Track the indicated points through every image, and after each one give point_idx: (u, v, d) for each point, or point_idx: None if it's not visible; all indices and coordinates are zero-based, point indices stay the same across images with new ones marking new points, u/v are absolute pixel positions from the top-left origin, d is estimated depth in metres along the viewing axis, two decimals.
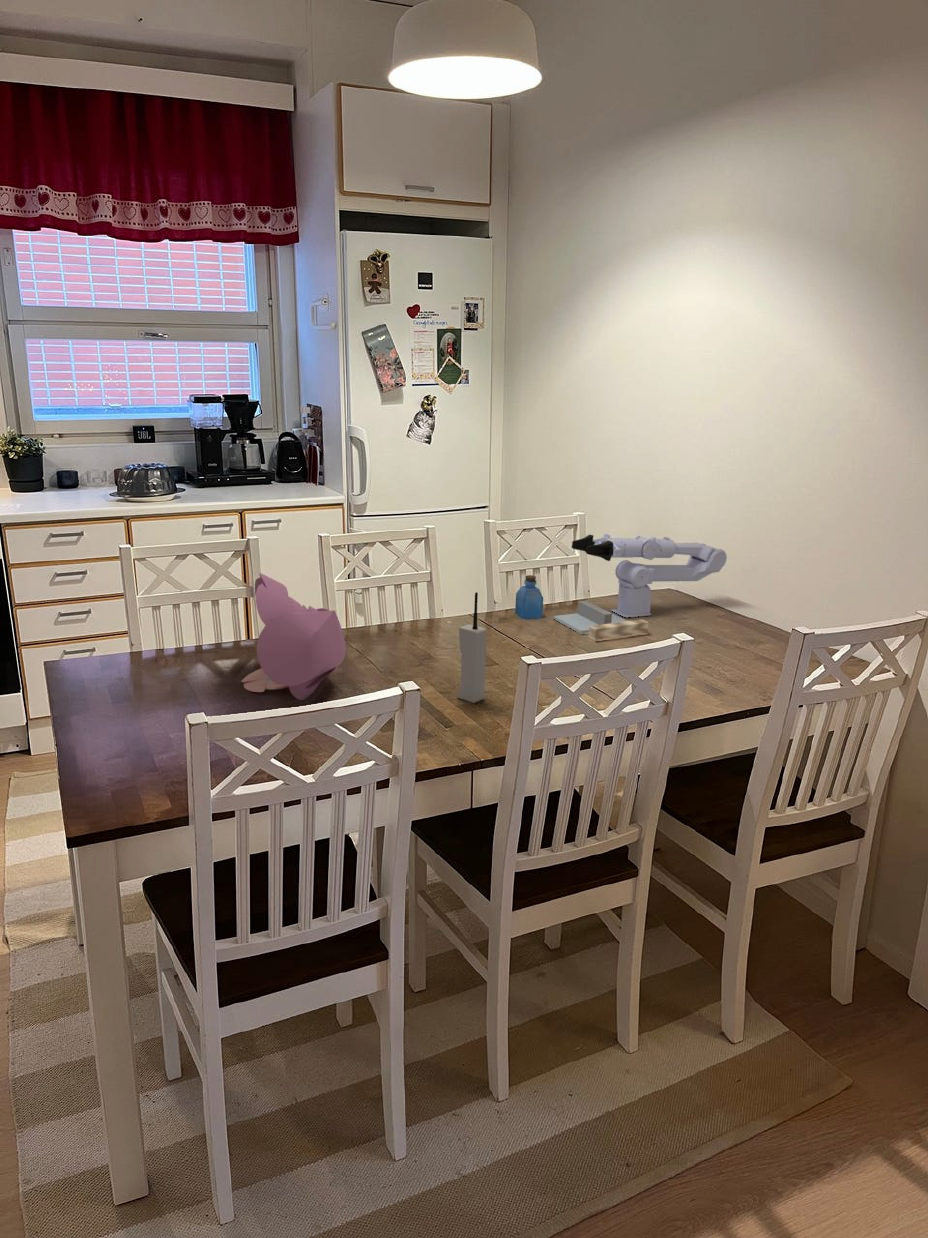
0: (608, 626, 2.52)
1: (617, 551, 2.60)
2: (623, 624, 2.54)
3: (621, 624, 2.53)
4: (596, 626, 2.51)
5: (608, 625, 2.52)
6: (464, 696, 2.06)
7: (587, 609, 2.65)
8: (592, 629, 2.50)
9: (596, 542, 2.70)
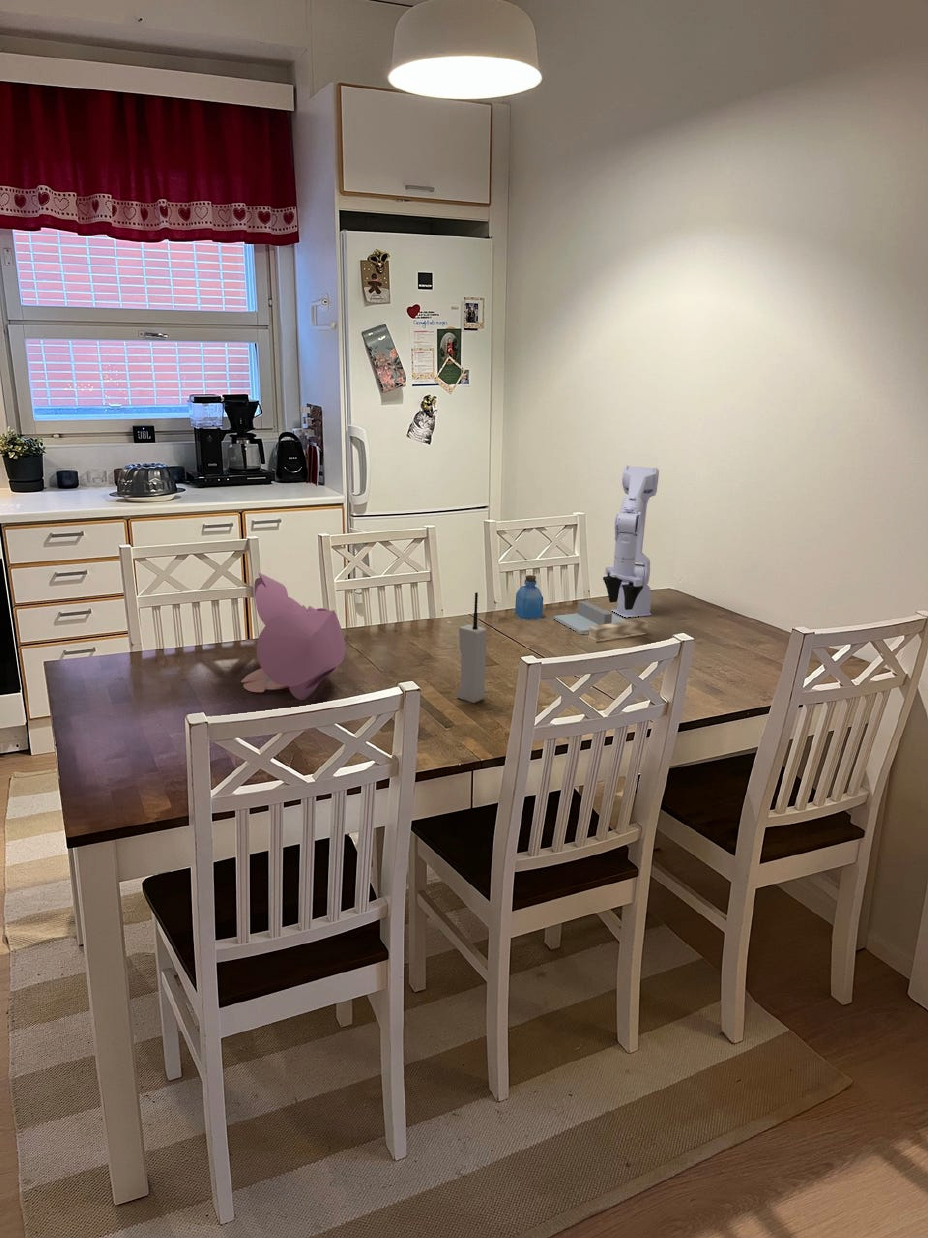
0: (609, 626, 2.52)
1: (637, 584, 2.43)
2: (623, 624, 2.54)
3: (621, 624, 2.53)
4: (596, 626, 2.51)
5: (608, 625, 2.52)
6: (464, 696, 2.06)
7: (587, 609, 2.65)
8: (593, 629, 2.49)
9: None
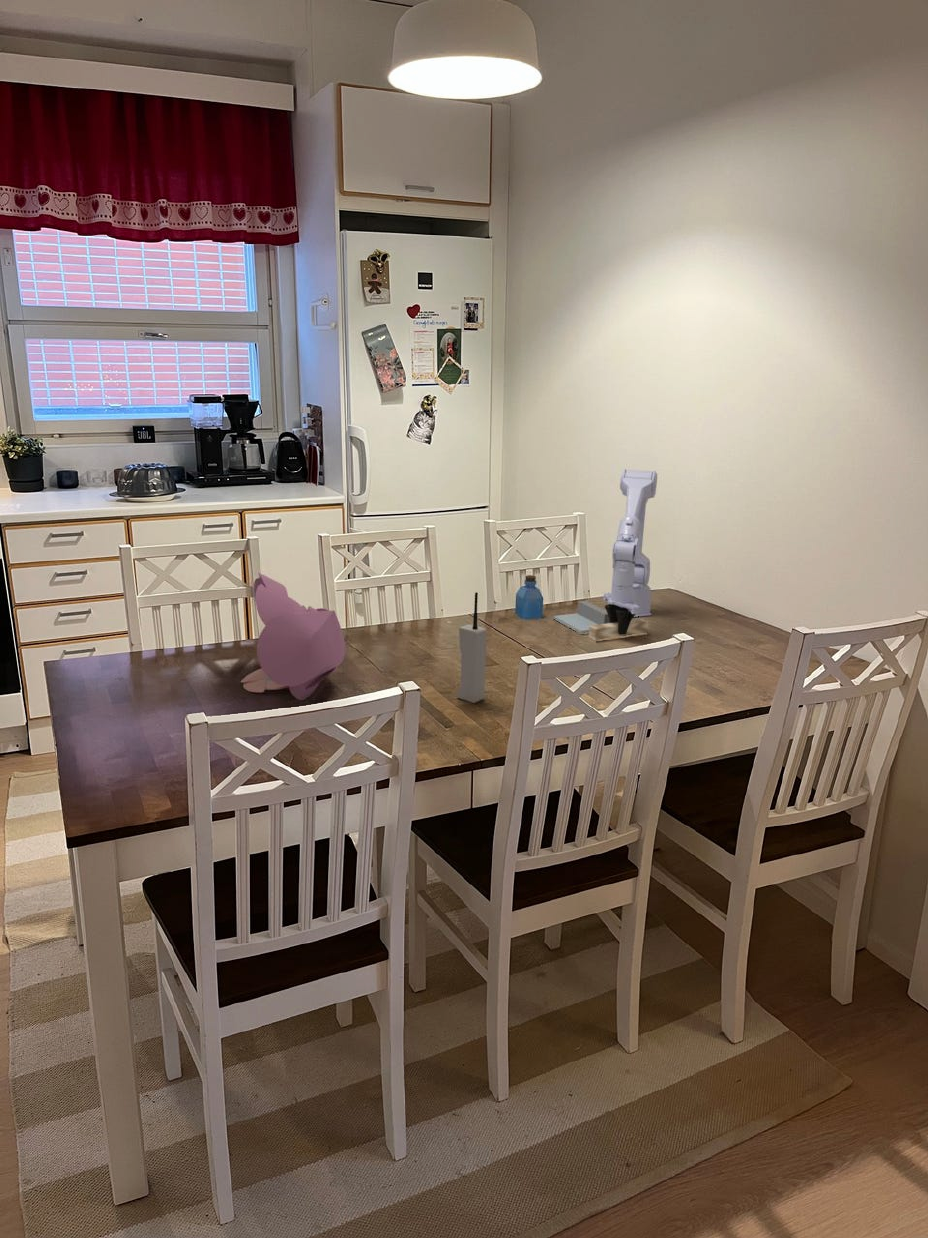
0: (608, 625, 2.52)
1: (635, 611, 2.46)
2: None
3: None
4: (596, 626, 2.51)
5: (608, 625, 2.52)
6: (464, 696, 2.06)
7: (587, 609, 2.65)
8: (592, 629, 2.49)
9: None
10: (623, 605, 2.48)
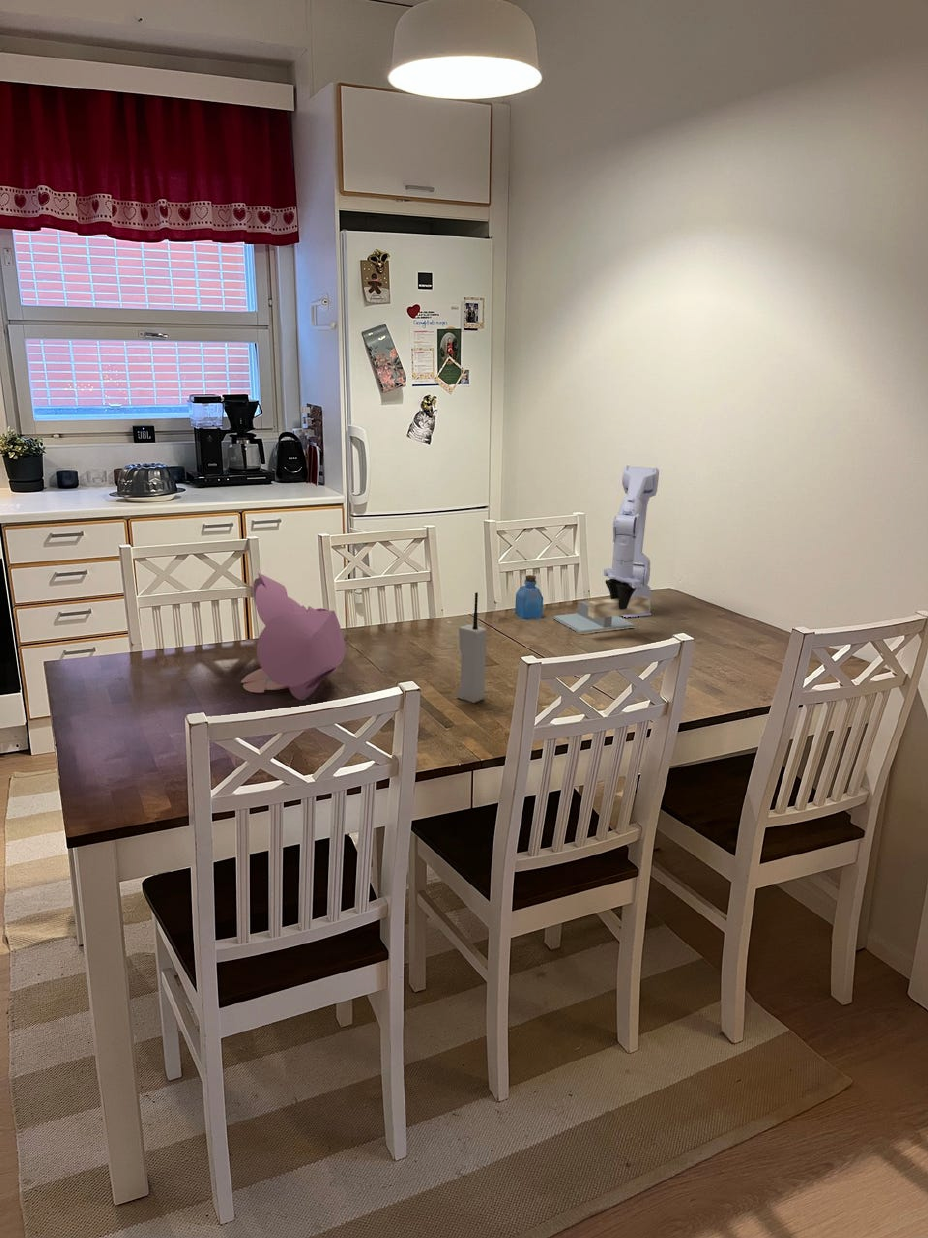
0: (608, 601, 2.50)
1: (635, 585, 2.44)
2: None
3: None
4: (596, 601, 2.50)
5: (608, 600, 2.51)
6: (464, 696, 2.06)
7: (587, 609, 2.65)
8: (592, 604, 2.48)
9: None
10: (624, 579, 2.46)
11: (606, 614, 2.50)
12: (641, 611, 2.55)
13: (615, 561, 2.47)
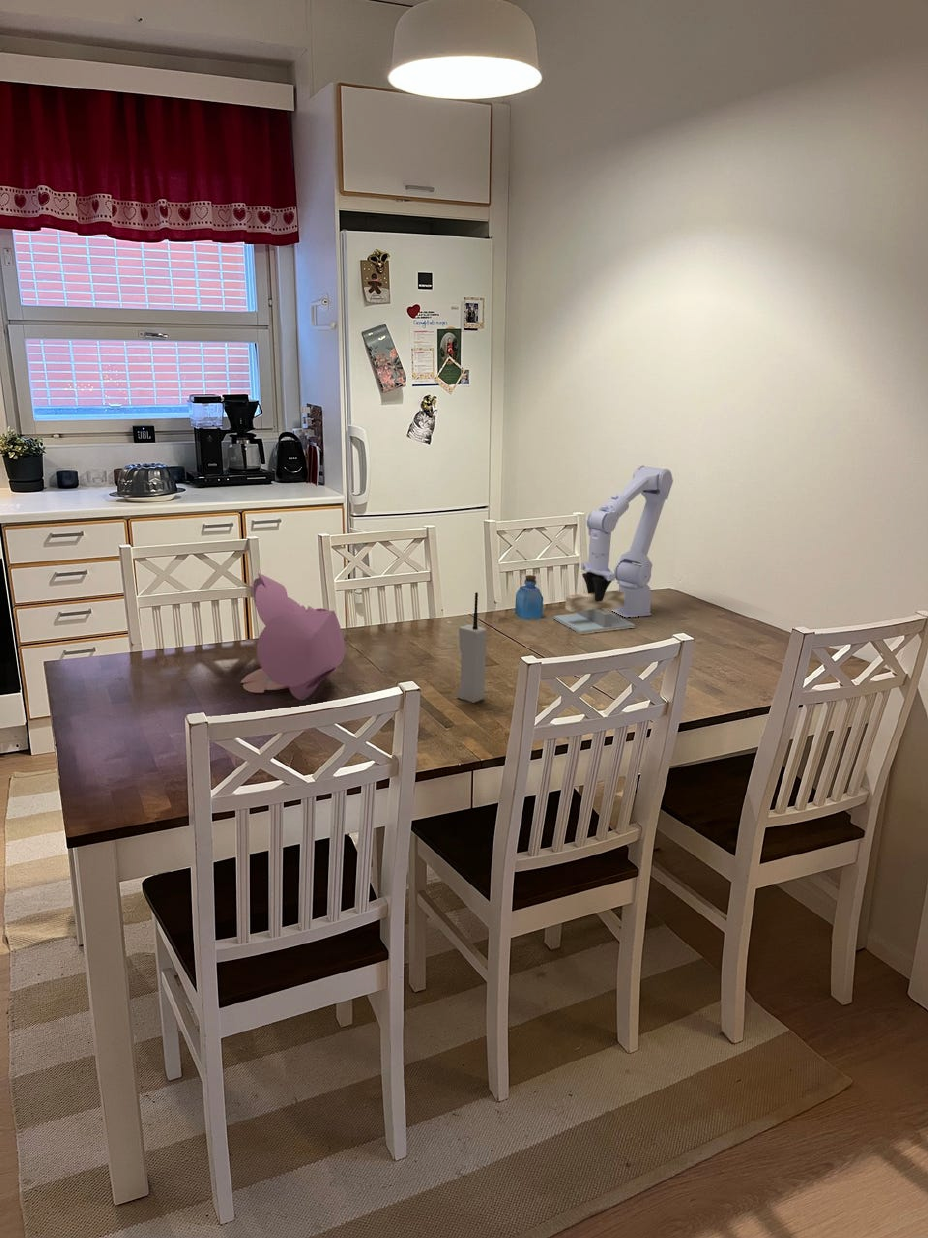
0: (585, 595, 2.61)
1: (610, 578, 2.55)
2: None
3: None
4: (572, 595, 2.60)
5: (585, 595, 2.62)
6: (464, 696, 2.06)
7: None
8: (569, 598, 2.59)
9: None
10: (599, 572, 2.57)
11: (583, 608, 2.60)
12: (617, 605, 2.65)
13: (591, 555, 2.58)
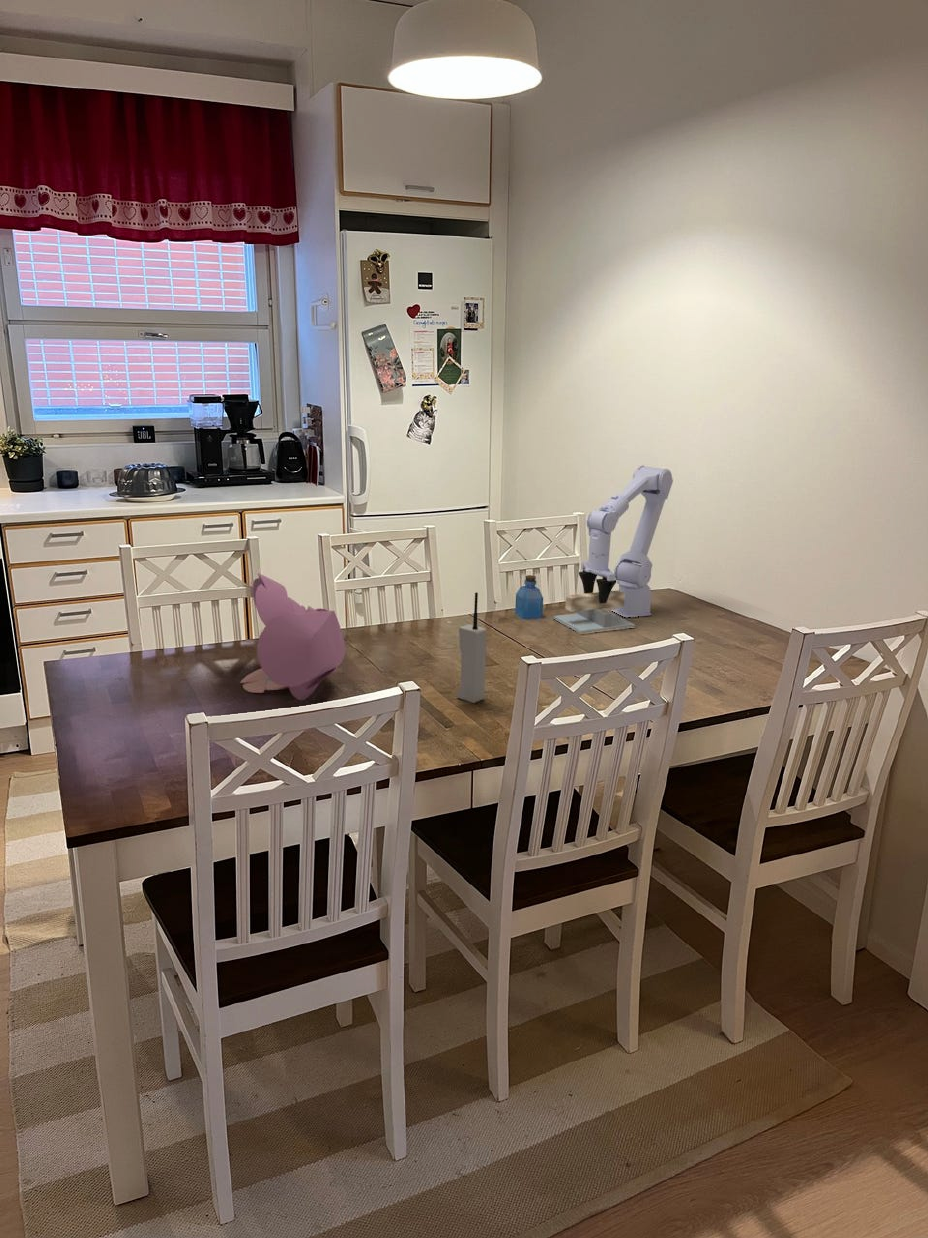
0: (585, 595, 2.61)
1: (610, 578, 2.55)
2: None
3: (598, 594, 2.63)
4: (572, 595, 2.60)
5: (585, 595, 2.62)
6: (464, 696, 2.06)
7: None
8: (569, 598, 2.59)
9: None
10: (599, 572, 2.57)
11: (583, 608, 2.60)
12: (617, 605, 2.65)
13: (591, 555, 2.58)
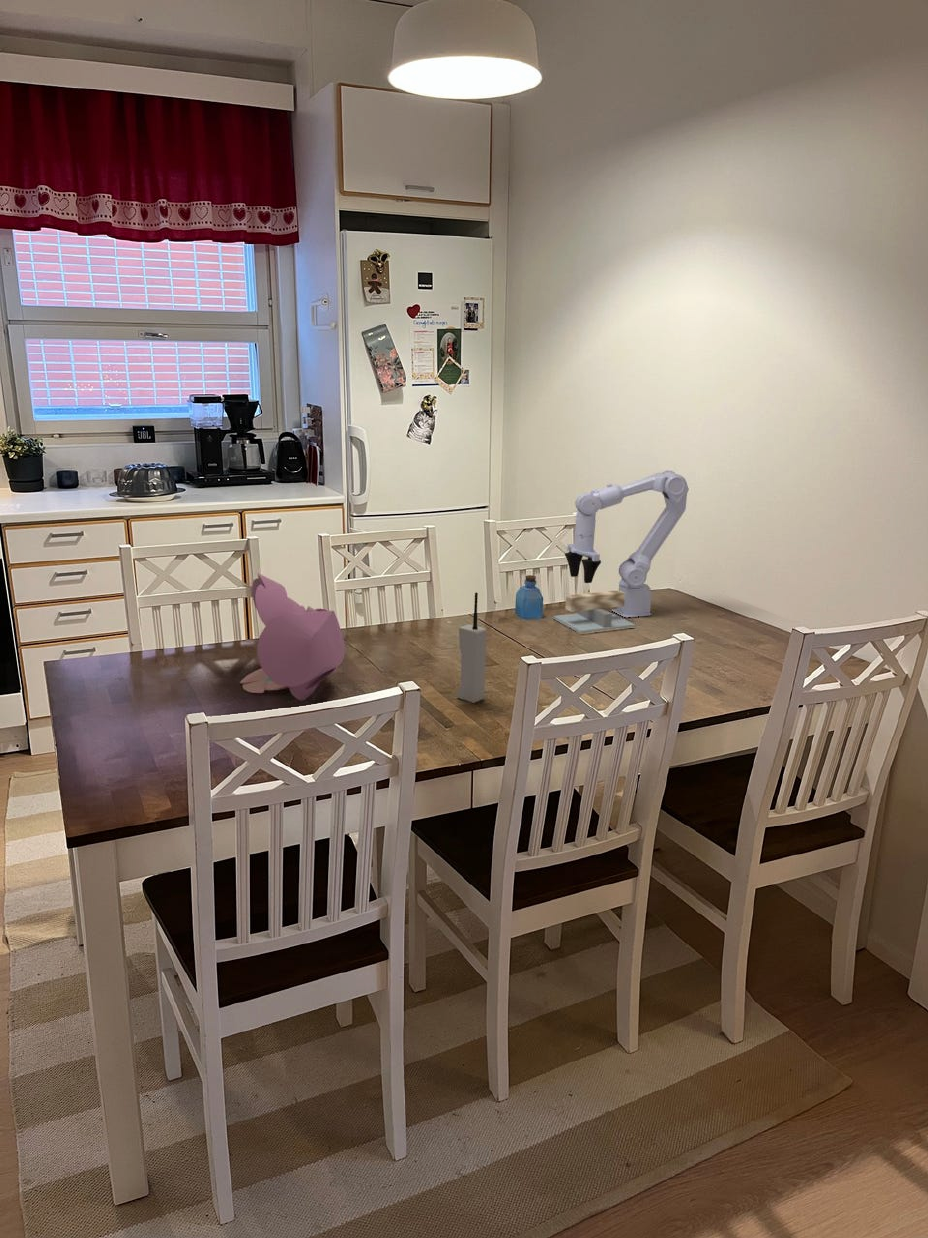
0: (585, 595, 2.61)
1: (595, 558, 2.64)
2: (600, 594, 2.63)
3: (598, 594, 2.63)
4: (572, 595, 2.60)
5: (585, 595, 2.62)
6: (464, 696, 2.06)
7: None
8: (569, 598, 2.59)
9: None
10: (585, 553, 2.66)
11: (583, 608, 2.60)
12: (617, 605, 2.65)
13: (577, 536, 2.67)
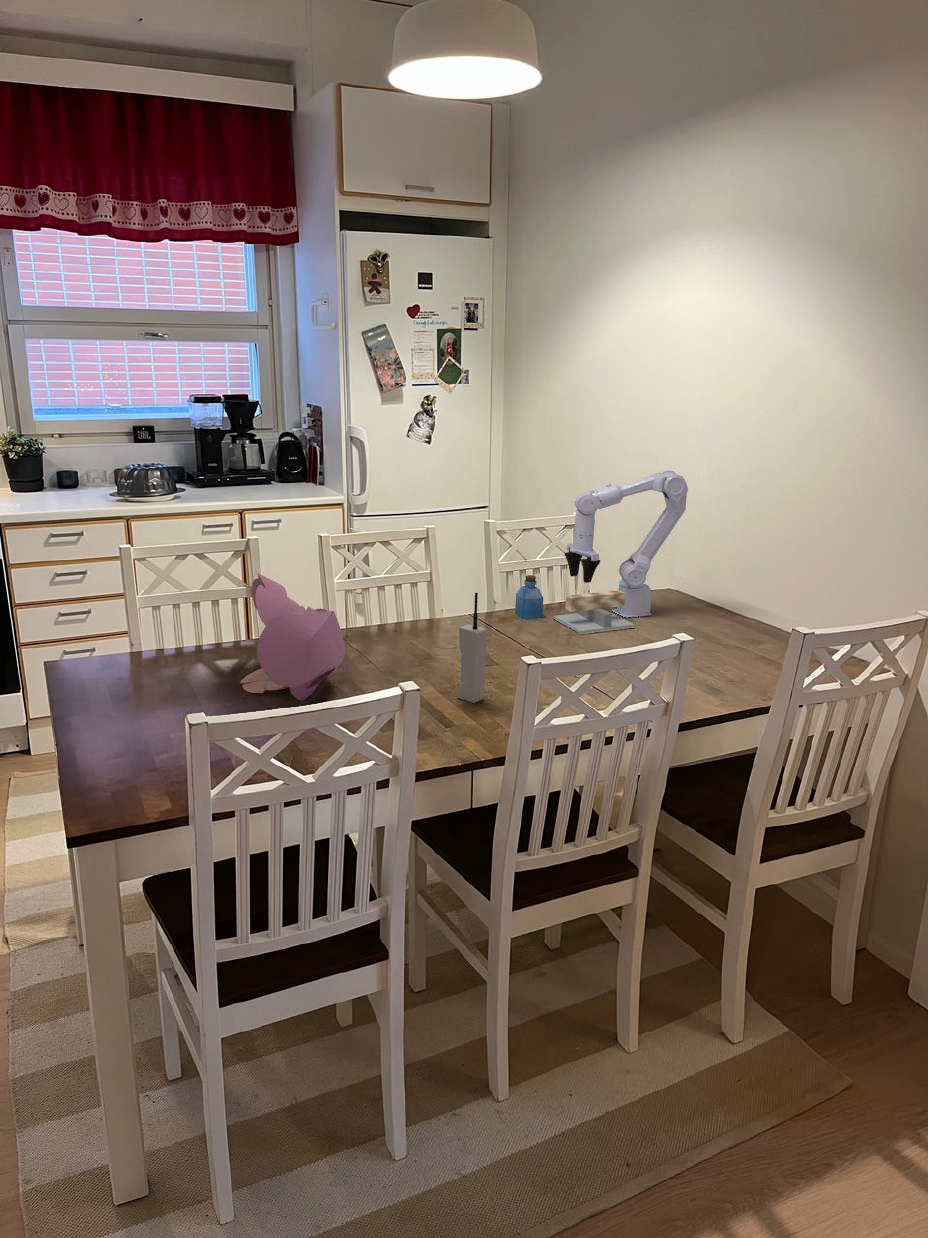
0: (585, 595, 2.61)
1: (594, 558, 2.64)
2: (600, 594, 2.63)
3: (598, 594, 2.63)
4: (572, 595, 2.60)
5: (585, 595, 2.62)
6: (464, 696, 2.06)
7: None
8: (569, 598, 2.59)
9: None
10: (584, 553, 2.67)
11: (583, 608, 2.60)
12: (617, 605, 2.65)
13: (576, 536, 2.68)
